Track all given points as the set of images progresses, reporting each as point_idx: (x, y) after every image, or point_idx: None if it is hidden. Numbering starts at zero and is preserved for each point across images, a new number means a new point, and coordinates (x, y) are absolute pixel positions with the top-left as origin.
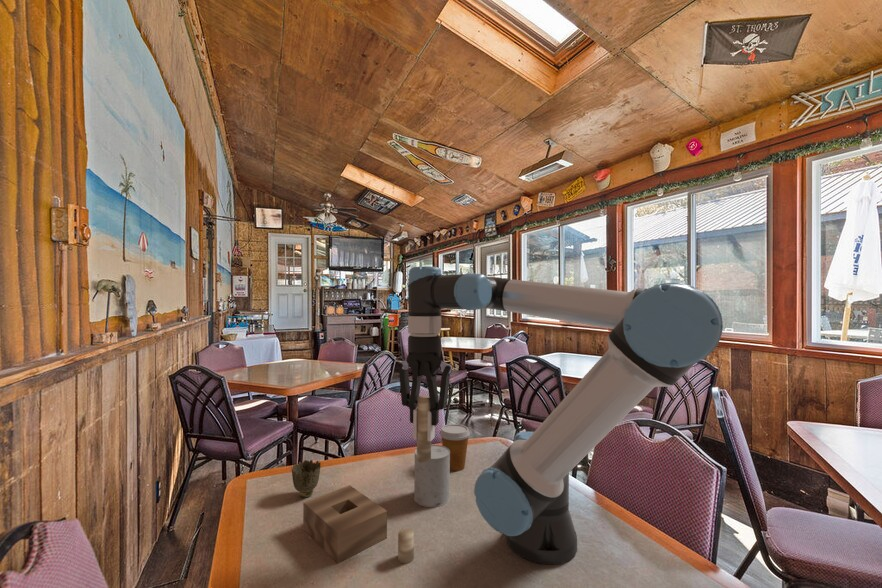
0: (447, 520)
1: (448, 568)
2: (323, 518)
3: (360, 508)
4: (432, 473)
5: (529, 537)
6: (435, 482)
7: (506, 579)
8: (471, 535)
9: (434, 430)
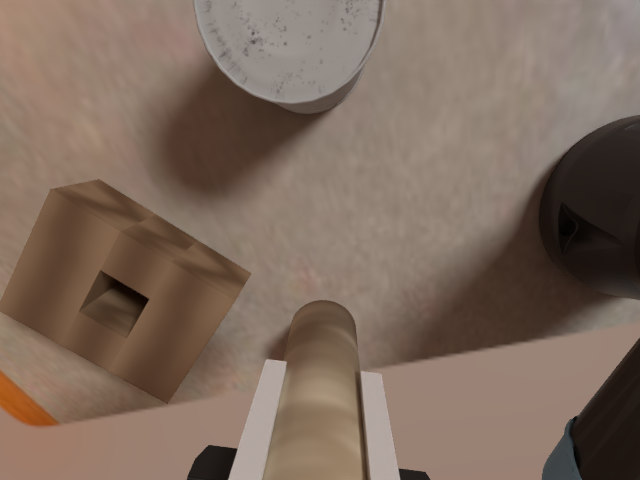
0: (379, 169)
1: (408, 334)
2: (98, 362)
3: (160, 305)
4: (317, 103)
5: (618, 294)
6: (329, 101)
7: (525, 340)
8: (449, 220)
9: (385, 410)
